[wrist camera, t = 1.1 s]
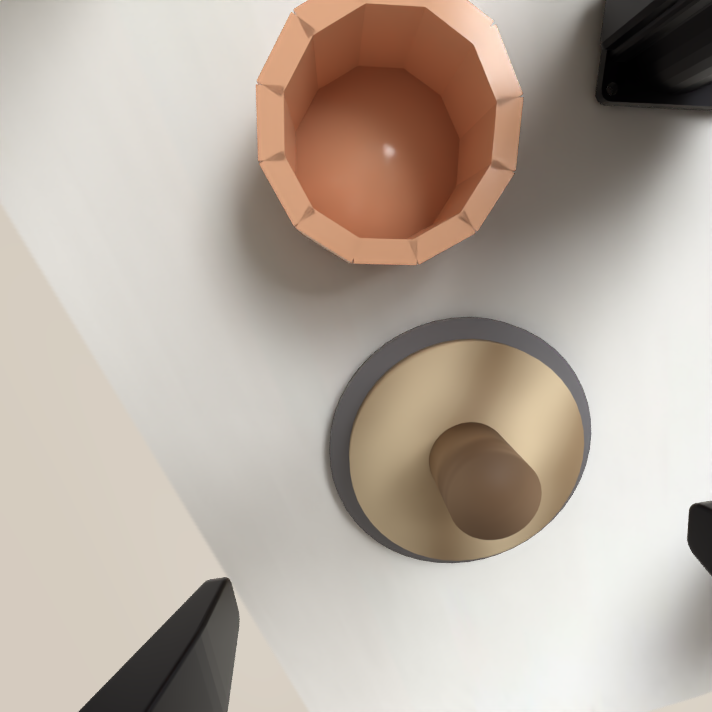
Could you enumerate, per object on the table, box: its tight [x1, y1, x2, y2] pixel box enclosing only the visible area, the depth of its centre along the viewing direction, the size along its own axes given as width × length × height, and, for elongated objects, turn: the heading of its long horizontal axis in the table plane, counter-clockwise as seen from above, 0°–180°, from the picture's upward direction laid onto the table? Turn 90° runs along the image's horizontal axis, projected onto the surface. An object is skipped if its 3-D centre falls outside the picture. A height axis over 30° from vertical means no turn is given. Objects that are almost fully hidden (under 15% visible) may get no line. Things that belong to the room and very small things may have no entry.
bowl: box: [256, 0, 524, 265], centre depth 16 cm, size 9×9×5 cm
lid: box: [349, 339, 584, 561], centre depth 19 cm, size 12×12×4 cm
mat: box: [330, 317, 591, 563], centre depth 21 cm, size 14×14×1 cm
